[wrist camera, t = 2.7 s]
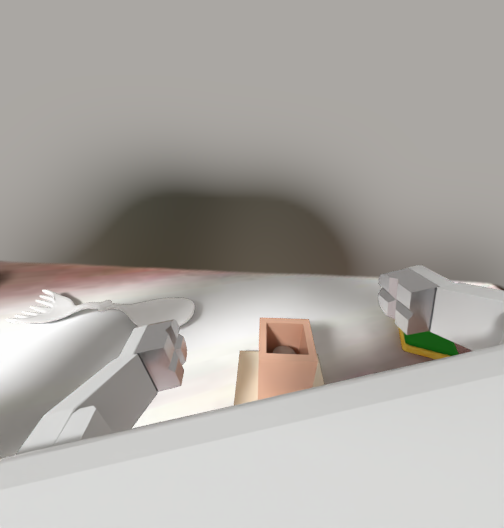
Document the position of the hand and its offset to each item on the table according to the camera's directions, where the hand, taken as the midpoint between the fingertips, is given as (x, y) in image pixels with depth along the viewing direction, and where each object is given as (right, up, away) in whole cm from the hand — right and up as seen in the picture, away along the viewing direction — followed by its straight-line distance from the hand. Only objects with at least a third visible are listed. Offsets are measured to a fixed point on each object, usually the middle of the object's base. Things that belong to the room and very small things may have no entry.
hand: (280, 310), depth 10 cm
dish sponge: (+29, -10, +35) cm, 47 cm away
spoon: (-28, -9, +37) cm, 47 cm away
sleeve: (+3, -15, +23) cm, 27 cm away
